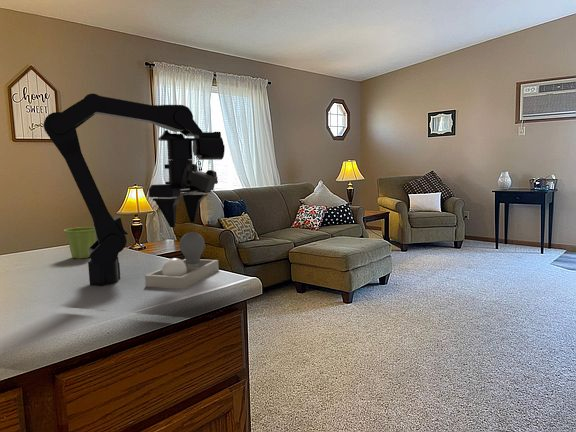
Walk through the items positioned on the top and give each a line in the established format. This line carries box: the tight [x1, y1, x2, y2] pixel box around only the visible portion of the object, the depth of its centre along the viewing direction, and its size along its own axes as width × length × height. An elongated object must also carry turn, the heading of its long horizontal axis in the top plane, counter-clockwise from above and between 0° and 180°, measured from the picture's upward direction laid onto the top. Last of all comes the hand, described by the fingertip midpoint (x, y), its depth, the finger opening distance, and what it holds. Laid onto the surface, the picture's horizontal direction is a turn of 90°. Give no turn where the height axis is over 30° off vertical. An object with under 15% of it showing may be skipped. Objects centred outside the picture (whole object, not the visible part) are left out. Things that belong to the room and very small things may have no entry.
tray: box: [144, 258, 220, 290], centre depth 102 cm, size 17×9×3 cm, turn 163°
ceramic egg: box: [161, 257, 187, 276], centre depth 98 cm, size 5×5×5 cm
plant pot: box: [63, 226, 96, 260], centre depth 134 cm, size 9×9×9 cm
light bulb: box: [179, 231, 206, 268], centre depth 106 cm, size 6×6×10 cm
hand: (183, 224), depth 106 cm, fingers open, 9 cm apart
